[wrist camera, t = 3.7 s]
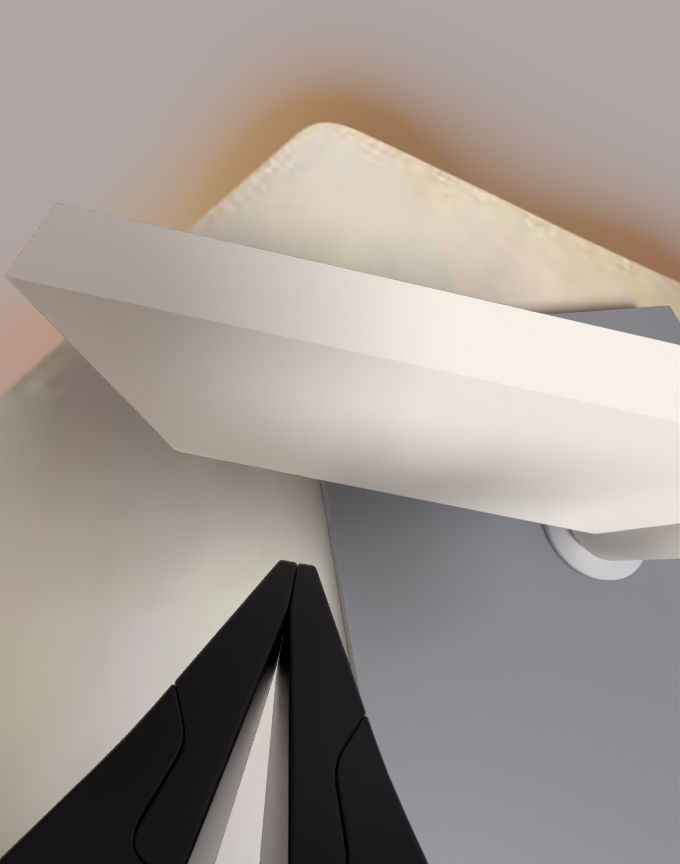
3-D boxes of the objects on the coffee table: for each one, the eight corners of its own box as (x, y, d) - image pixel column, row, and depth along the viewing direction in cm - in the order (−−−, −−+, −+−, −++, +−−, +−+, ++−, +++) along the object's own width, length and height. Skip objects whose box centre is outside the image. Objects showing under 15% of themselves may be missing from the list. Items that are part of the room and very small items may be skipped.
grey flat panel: (397, 952, 11) (417, 1025, 9) (299, 350, 18) (299, 327, 17) (895, 750, 15) (977, 775, 13) (645, 322, 22) (675, 300, 21)
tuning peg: (831, 534, 16) (1606, 482, 6) (858, 609, 14) (1849, 675, 5) (202, 406, 14) (36, 102, 5) (177, 476, 13) (-98, 252, 4)
